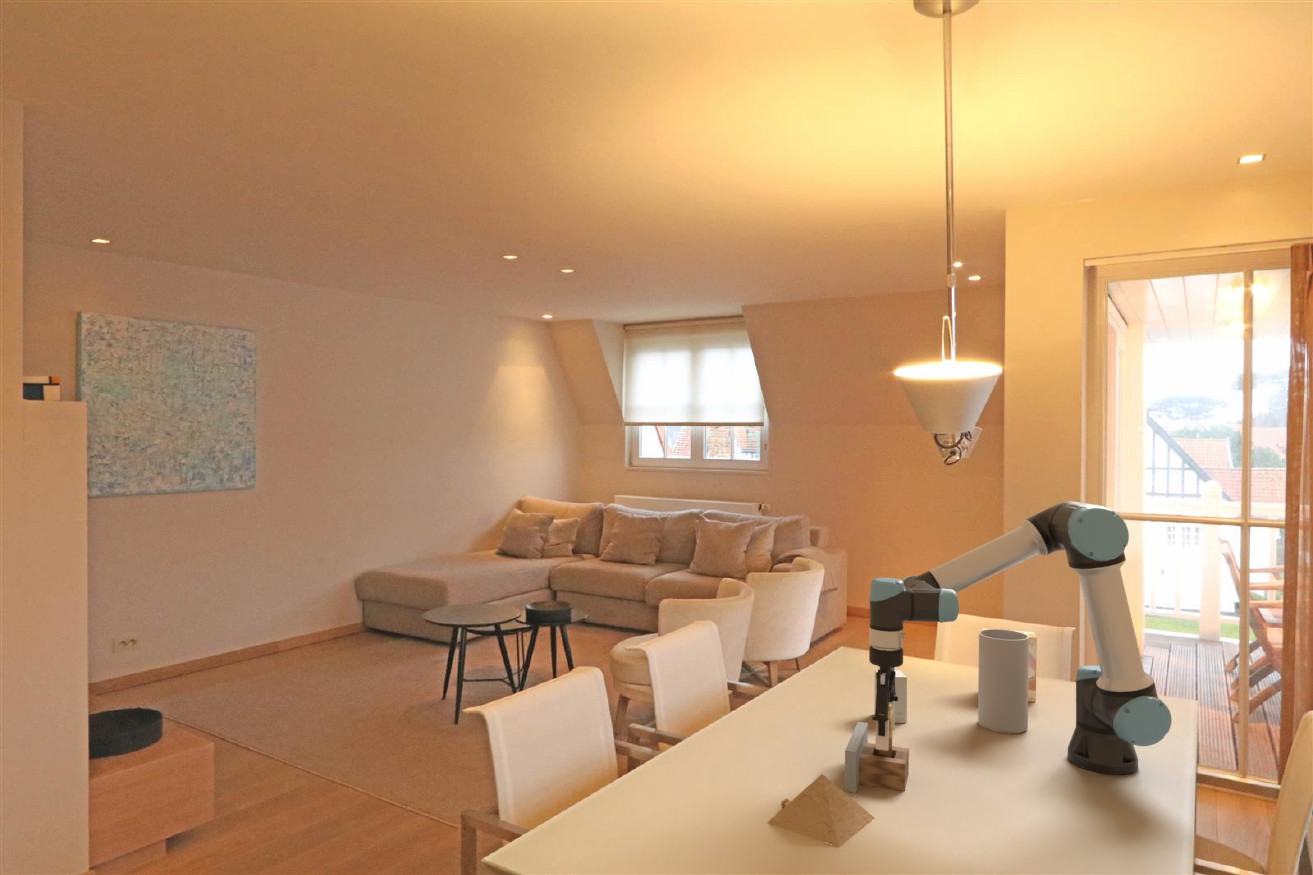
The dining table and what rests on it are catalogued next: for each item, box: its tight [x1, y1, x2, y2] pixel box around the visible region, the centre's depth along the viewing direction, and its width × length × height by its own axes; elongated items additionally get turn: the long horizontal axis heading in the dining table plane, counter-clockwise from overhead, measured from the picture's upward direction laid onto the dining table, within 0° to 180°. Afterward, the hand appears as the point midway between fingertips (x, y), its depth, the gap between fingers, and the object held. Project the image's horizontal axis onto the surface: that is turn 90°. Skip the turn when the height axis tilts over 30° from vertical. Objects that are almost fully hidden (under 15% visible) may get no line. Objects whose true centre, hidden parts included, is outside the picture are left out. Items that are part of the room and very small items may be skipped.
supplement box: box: [873, 669, 908, 724], centre depth 236 cm, size 7×7×13 cm
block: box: [859, 742, 910, 792], centre depth 195 cm, size 10×10×6 cm
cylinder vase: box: [977, 628, 1029, 735], centre depth 230 cm, size 12×12×25 cm
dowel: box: [878, 704, 893, 758], centre depth 195 cm, size 3×3×14 cm
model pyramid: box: [767, 773, 876, 848], centre depth 174 cm, size 17×17×10 cm
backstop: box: [844, 721, 869, 794], centre depth 197 cm, size 2×20×9 cm, turn 159°
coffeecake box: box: [981, 628, 1038, 703], centre depth 256 cm, size 15×7×20 cm, turn 73°
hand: (885, 739), depth 195 cm, fingers open, 13 cm apart
